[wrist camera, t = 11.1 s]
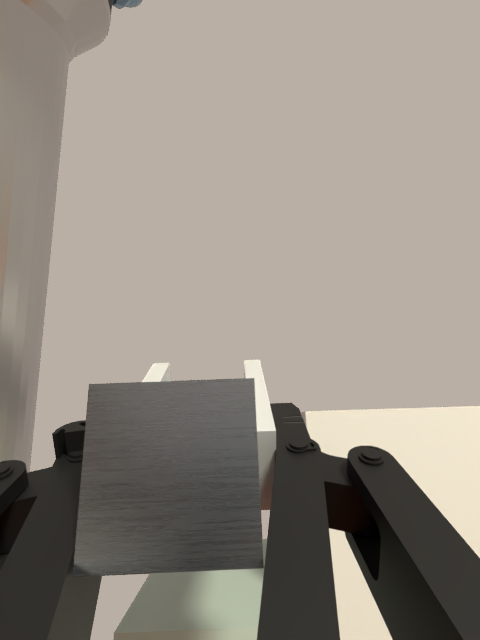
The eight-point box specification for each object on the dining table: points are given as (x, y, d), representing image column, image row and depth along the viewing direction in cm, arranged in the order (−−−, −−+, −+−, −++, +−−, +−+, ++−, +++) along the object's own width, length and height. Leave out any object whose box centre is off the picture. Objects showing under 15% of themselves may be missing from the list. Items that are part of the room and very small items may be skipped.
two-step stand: (678, 1201, 14) (496, 405, 23) (78, 1245, 14) (126, 416, 22) (447, 799, 29) (391, 415, 38) (161, 813, 29) (171, 422, 38)
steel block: (263, 568, 7) (254, 377, 8) (72, 577, 7) (89, 384, 8) (243, 459, 35) (241, 422, 36) (207, 461, 35) (206, 423, 36)
